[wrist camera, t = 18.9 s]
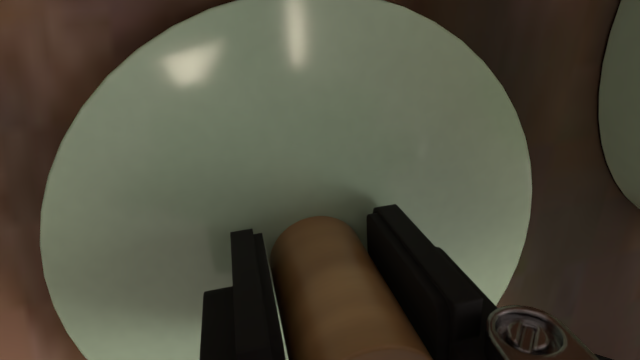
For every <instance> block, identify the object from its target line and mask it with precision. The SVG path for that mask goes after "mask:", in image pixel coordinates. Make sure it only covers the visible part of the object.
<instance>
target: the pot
mask: <svg viewBox="0 0 640 360" xmlns="http://www.w3.org/2000/svg"><path fill="white" fill-rule="evenodd" d="M598 120H599V128H600V137H601V144H602V148H603V152H604V155H605V159H606V163H607V165H608V168H609V170H610V172H611V174H612V176H613V179H614V181H615V182H616V184H617V185H618V187H619V188H620V189H621V191H622V192H623V194H624V195H625V196H626V197H627V198H628V199H629V200H630V201H631V202H632V203H633V204H634V205H635V206H636V207H637V208H638V209H640V0H621V2H620V5H619V8H618V11H617V14H616V17H615V20H614V23H613V26H612V28H611V31H610V35H609V39H608V43H607V48H606V52H605V56H604V60H603V65H602V72H601V80H600V88H599V114H598Z"/></svg>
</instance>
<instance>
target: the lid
mask: <svg viewBox="0 0 640 360" xmlns="http://www.w3.org/2000/svg"><path fill="white" fill-rule="evenodd" d="M531 201H532V176H531V162H530V157H529V152H528V147H527V142H526V137H525V134H524V132H523V129H522V126H521V123H520V121H519V118H518V115H517V112H516V110H515V108H514V106H513V105H512V103H511V101H510V99H509V97H508V95H507V93H506V92H505V90H504V88H503V86H502V85H501V83H500V82H499V81H498V79H497V78H496V77H495V75H494V74H493V73H492V72H491V70H490V69H489V68H488V66H487V65H486V64H485V62H484V61H483V60H482V59H481V58H480V57H479V56H478V55H477V54H476V53H474V52H473V51H472V50H471V49H470V48H469V47H468V46H467V45H466V44H465V43H464V42H463V41H462V40H461V39H459V38H458V37H456V36H455V35H453V34H452V33H451V32H449V31H448V30H446V29H445V28H443V27H442V26H440V25H439V24H438V23H436V22H435V21H433V20H431V19H429V18H427V17H424V16H422V15H420V14H418V13H416V12H414V11H412V10H410V9H408V8H406V7H404V6H401V5H398V4H394V3H391V2H388V1H384V0H236V1H232V2H229V3H226V4H222V5H219V6H216V7H212V8H209V9H207V10H205V11H203V12H201V13H199V14H197V15H194V16H192V17H190V18H188V19H186V20H184V21H182V22H179V23H177V24H175V25H173V26H171V27H170V28H168V29H167V30H165V31H164V32H162V33H161V34H159V35H158V36H156V37H154V38H153V39H151V40H150V41H148V42H147V43H145V44H144V45H142V46H141V47H139V48H138V49H136V50H135V51H134V52H133V53H132V54H131V55H130V56H129V57H127V58H126V59H125V60H124V61H123V62H122V63H121V64H120V65H119V66H117V67H116V68H115V69H114V70H113V71H112V72H111V73H110V74H109V75H107V76H106V77H105V79H104V80H103V81H102V82H101V84H100V85H99V86H98V87H97V88H96V90H95V91H94V92H93V93H92V95H91V96H90V97H89V98H88V99H87V101H86V102H85V103H84V104H83V105H82V107H81V108H80V110H79V111H78V113H77V115H76V117H75V118H74V120H73V122H72V123H71V125H70V127H69V128H68V130H67V132H66V134H65V135H64V137H63V139H62V140H61V143H60V145H59V148H58V150H57V153H56V156H55V158H54V161H53V163H52V166H51V169H50V171H49V174H48V177H47V182H46V187H45V192H44V197H43V202H42V206H41V218H40V250H41V257H42V264H43V272H44V278H45V281H46V284H47V287H48V290H49V294H50V297H51V300H52V303H53V306H54V308H55V310H56V312H57V314H58V316H59V318H60V320H61V322H62V324H63V326H64V328H65V330H66V332H67V334H68V335H69V336H70V338H71V339H72V340H73V342H74V343H75V345H76V346H77V347H78V349H79V350H80V352H81V353H82V354H83V356H84V357H85V358H86V359H87V360H200V343H201V326H202V309H203V295H204V292H205V291H210V290H215V289H220V288H225V287H231V286H233V281H232V259H231V238H230V232H235V231H241V230H246V229H252V228H253V234H257V233H262V234H263V240H264V245H265V250H266V255H267V261H268V266H269V271H270V276H271V281H272V287H273V292H274V297H275V302H276V308H277V313H278V318H279V323H280V329H281V334H282V340H283V346H284V352H285V359H286V360H433V359H432V357H431V355H430V354H429V352H428V350H427V349H426V347H425V345H424V344H423V342H422V341H421V339H420V337H419V336H418V334H417V332H416V331H415V329H414V327H413V326H412V324H411V323H410V321H409V319H408V318H407V316H406V314H405V313H404V311H403V309H402V308H401V306H400V305H399V303H398V301H397V300H396V298H395V296H394V295H393V293H392V291H391V290H390V288H389V287H388V285H387V283H386V282H385V280H384V278H383V277H382V275H381V273H380V272H379V270H378V269H377V267H376V265H375V264H374V262H373V260H372V259H371V257H370V255H369V254H368V249H367V222H366V219H367V215H368V214H372V213H373V209H374V208H375V207H381V206H386V205H392V204H396V205H398V207H399V208H400V209H401V210H402V211H403V212H404V213H405V214H406V215H407V216H408V217H409V219H410V220H411V221H412V222H413V223H414V224H415V225H416V226H417V227H418V228H419V229H420V231H421V232H422V233H423V234H424V235H425V236H426V237H427V238H428V239H429V240H430V241H431V242H432V244H433V245H434V246H435V247H440V248H441V249H442V250H444V251H445V253H446V254H447V255H448V256H449V257H450V258H451V259H452V260H453V261H454V262H455V263H456V264H457V265H458V266H459V267H460V268H461V270H462V271H463V272H464V273H465V274H466V275H467V276H468V277H469V278H470V279H471V280H472V281H473V282H474V283H475V284H476V285H477V287H478V288H479V289H480V290H481V291H482V292H483V293H484V294H485V295H486V296H487V297H488V298H489V299H490V300H491V301H492V303H493V304H494V305H495V306H496V305H497V304H498V302H499V300H500V299H501V297H502V295H503V294H504V292H505V290H506V288H507V287H508V284H509V282H510V280H511V278H512V276H513V273H514V271H515V269H516V267H517V265H518V262H519V259H520V256H521V253H522V249H523V246H524V243H525V240H526V235H527V230H528V225H529V220H530V215H531Z"/></svg>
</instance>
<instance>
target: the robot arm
mask: <svg viewBox="0 0 640 360" xmlns="http://www.w3.org/2000/svg"><path fill="white" fill-rule="evenodd" d="M366 222H367V249H368V254H369V255H370V257H371V259H372V260H373V262H374V264H375V265H376V267H377V269H378V270H379V272H380V273H381V275H382V277H383V278H384V280H385V282H386V283H387V285H388V287H389V288H390V290H391V291H392V293H393V295H394V296H395V298H396V300H397V301H398V303H399V305H400V306H401V308H402V309H403V311H404V313H405V314H406V316H407V318H408V319H409V321H410V323H411V324H412V326H413V327H414V329H415V331H416V332H417V334H418V336H419V337H420V339H421V341H422V342H423V344H424V345H425V347H426V349H427V350H428V352H429V354H430V355H431V357H432V359H433V360H613V359H610V358H606V357H603V356H600V355H597V354H593V353H592V352H591V351H590V350H589V349H588V348H587V347H586V346H585V345H584V344H583V343H582V342H581V341H580V340H579V339H578V338H577V337H576V336H575V335H574V334H573V333H572V332H571V331H570V330H569V329H568V328H567V327H566V326H565V325H564V324H563V323H562V322H561V321H559V320H558V319H557V318H556V317H554V316H552V315H550V314H548V313H546V312H544V311H542V310H539V309H536V308H533V307H528V306H521V305H510V306H504V307H501V308H497V307H496V306H495V305H494V304H493V303H492V301H491V300H490V299H489V298H488V297H487V296H486V295H485V294H484V293H483V292H482V291H481V290H480V289H479V288H478V287H477V285H476V284H475V283H474V282H473V281H472V280H471V279H470V278H469V277H468V276H467V275H466V274H465V273H464V272H463V271H462V270H461V268H460V267H459V266H458V265H457V264H456V263H455V262H454V261H453V260H452V259H451V258H450V257H449V256H448V255H447V254H446V253H445V251H444V250H442V249H441V248H440V247H435V246H434V245H433V244H432V242H431V241H430V240H429V239H428V238H427V237H426V236H425V235H424V234H423V233H422V232H421V231H420V229H419V228H418V227H417V226H416V225H415V224H414V223H413V222H412V221H411V220H410V219H409V217H408V216H407V215H406V214H405V213H404V212H403V211H402V210H401V209H400V208H399V207H398V205H396V204H392V205H386V206H381V207H375V208H374V209H373V213H372V214H368V215H367V219H366ZM230 238H231V259H232V281H233V286H231V287H225V288H220V289H215V290H210V291H205V292H204V295H203V309H202V326H201V343H200V360H286V359H285V352H284V346H283V340H282V334H281V329H280V323H279V318H278V313H277V308H276V302H275V297H274V292H273V287H272V281H271V276H270V271H269V266H268V261H267V255H266V250H265V245H264V240H263V234H262V233H257V234H253V228H252V229H246V230H241V231H235V232H230Z"/></svg>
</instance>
